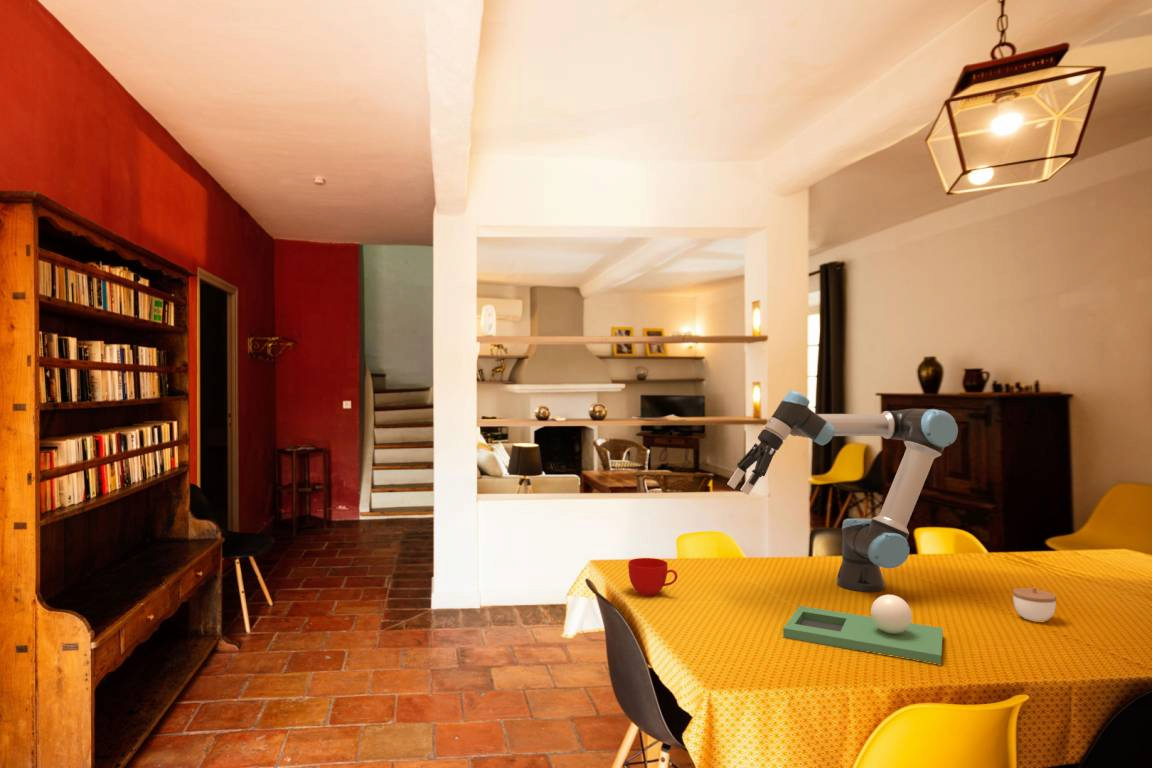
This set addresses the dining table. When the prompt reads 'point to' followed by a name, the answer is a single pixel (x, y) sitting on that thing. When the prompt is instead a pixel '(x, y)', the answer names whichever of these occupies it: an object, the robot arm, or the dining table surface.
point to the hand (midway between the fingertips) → (737, 489)
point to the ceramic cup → (649, 575)
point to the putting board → (864, 634)
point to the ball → (891, 614)
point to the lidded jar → (1034, 603)
